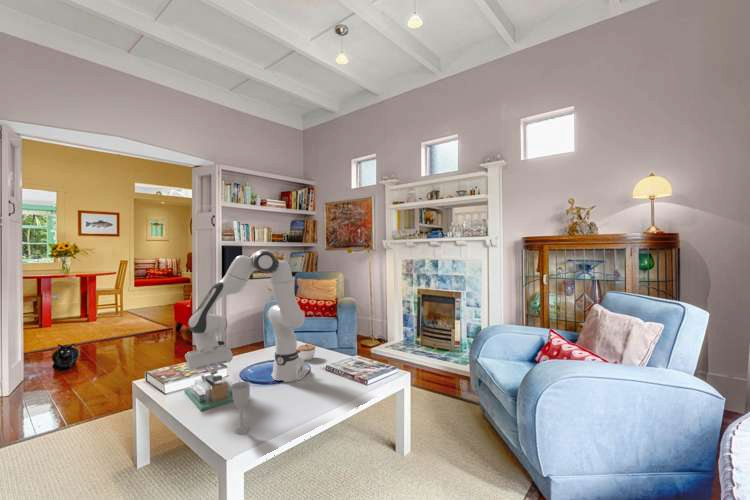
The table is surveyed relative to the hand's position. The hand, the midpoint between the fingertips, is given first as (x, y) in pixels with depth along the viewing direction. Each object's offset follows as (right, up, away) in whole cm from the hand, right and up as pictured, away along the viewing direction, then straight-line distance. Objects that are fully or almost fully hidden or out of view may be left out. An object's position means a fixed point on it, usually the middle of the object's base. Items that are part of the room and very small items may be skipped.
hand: (214, 373), depth 167 cm
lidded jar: (+33, -10, +54) cm, 64 cm away
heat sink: (-2, -10, +2) cm, 11 cm away
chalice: (+24, -12, -29) cm, 40 cm away
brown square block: (+5, -10, -5) cm, 12 cm away
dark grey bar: (-2, -4, +2) cm, 4 cm away
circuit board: (-2, -11, +2) cm, 12 cm away
